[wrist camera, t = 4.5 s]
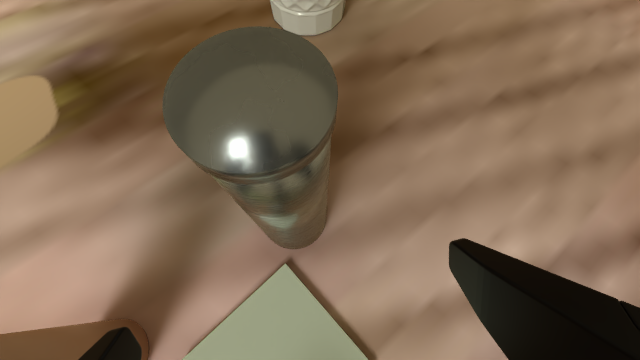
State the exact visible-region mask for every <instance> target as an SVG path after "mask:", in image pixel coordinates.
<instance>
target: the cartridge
mask: <svg viewBox="0 0 640 360" xmlns="http://www.w3.org/2000/svg"><path fill="white" fill-rule="evenodd" d="M337 99H338V88H337V82H336V77H335V74H334V72H333V69H332V67H331V65H330V63H329V62H328V60H327V59H326V57H325V56H324V55H323V54H322V52H321V51H320V50H319V49H317V48H316V47H315V46H314V45H313V44H311V43H310V42H309V41H307V40H306V39H304V38H302V37H300V36H298V35H296V34H294V33H291V32H288V31H285V30H282V29H277V28H271V27H244V28H238V29H233V30H229V31H226V32H223V33H220V34H217V35H215V36H213V37H211V38H209V39H207V40H205V41H203V42H202V43H200V44H199V45H197V46H196V47H194V48H193V49H192V50H191V51H190V52H188V53H187V54H186V55H185V56H184V57H183V58H182V60H181V61H180V62H179V63H178V64H177V66H176V67H175V69H174V70H173V72H172V73H171V75H170V77H169V79H168V82H167V85H166V87H165V91H164V96H163V115H164V121H165V124H166V127H167V129H168V131H169V133H170V135H171V137H172V139H173V140H174V142H175V143H176V144H177V146H178V147H179V148H180V149H181V150H182V151H183V152H184V153H185V154H186V155H187V156H188V157H189V158H190V159H191V160H192V161H193V162H194V163H195V164H196V165H197V166H198V167H199V168H201V169H202V170H204V171H205V172H206V173H208V174H210V175H211V176H212V177H213V178H214V179H215V180H216V181H217V182H218V183H219V184H220V186H221V187H222V188H223V189H224V190H225V191H226V192H227V193H228V194H229V195H230V196H231V197H232V198H233V199H234V201H235V202H236V203H237V204H238V205H239V206H240V207H241V208H242V209H243V210H244V211H245V212H246V213H247V214H248V215H249V217H250V218H251V219H252V220H253V221H254V222H255V223H256V224H257V225H258V226H259V227H260V228H261V229H262V230H263V232H264V233H265V234H266V235H267V236H268V237H269V238H270V239H271V240H272V241H273V242H274V243H276V244H277V245H279V246H281V247H283V248H287V249H300V248H304V247H306V246H309V245H310V244H312V243H313V242H314V241H316V240H317V239H318V238H319V236H320V235H321V233H322V231H323V229H324V227H325V223H326V210H327V195H328V180H329V164H330V149H331V134H332V132H333V129H334V125H335V121H336V111H337Z"/></svg>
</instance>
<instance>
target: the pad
mask: <svg viewBox="0 0 640 360" xmlns="http://www.w3.org/2000/svg"><path fill="white" fill-rule="evenodd" d="M182 360H368V358H367V357H366V356H365V355H364V354H363V353H362V351H361V350H360V349H359V348H358V347H357V346H356V345H355V343H354V342H353V341H352V340H351V339H350V338H349V336H348V335H347V334H346V333H345V332H344V331H343V329H342V328H341V327H340V326H339V325H338V324H337V323H336V321H335V320H334V319H333V318H332V317H331V316H330V314H329V313H328V312H327V311H326V310H325V309H324V307H323V306H322V305H321V304H320V303H319V302H318V300H317V299H316V298H315V297H314V296H313V295H312V294H311V292H310V291H309V290H308V289H307V288H306V287H305V285H304V284H303V283H302V282H301V281H300V280H299V278H298V277H297V276H296V275H295V274H294V273H293V272H292V270H291V269H290V268H289V267H288V266H287V265H286V264H284V265H283V266H282V267H281V268H280V269H279V270H278V271H277V272H276V273H275V274H274V275H272V276H271V277H270V278H269V279H268V280H267V281H266V282H265V283H264V284H263V285H262V286H261V287H260V288H258V289H257V290H256V291H255V292H254V293H253V294H252V295H251V296H250V297H249V298H248V299H247V300H246V301H244V302H243V303H242V304H241V305H240V306H239V307H238V308H237V309H236V310H235V311H234V312H233V313H232V314H230V315H229V316H228V317H227V318H226V319H225V320H224V321H223V322H222V323H221V324H220V325H219V326H218V327H216V328H215V329H214V330H213V331H212V332H211V333H210V334H209V335H208V336H207V337H206V338H205V339H204V340H202V341H201V342H200V343H199V344H198V345H197V346H196V347H195V348H194V349H193V350H192V351H191V352H190V353H189V354H187V355H186V356H185V357H184V358H183V359H182Z"/></svg>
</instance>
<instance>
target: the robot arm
mask: <svg viewBox="0 0 640 360" xmlns="http://www.w3.org/2000/svg"><path fill="white" fill-rule="evenodd" d="M449 267H450V270H451V272H452V274H453V275H454V277H455V279H456V280H457V282H458V284H459V286H460V287H461V289H462V291H463V292H464V294H465V296H466V297H467V299H468V301H469V303H470V304H471V306H472V308H473V309H474V311H475V313H476V314H477V316H478V318H479V319H480V321H481V322H482V324H483V325H484V326H485V328H486V329H487V331H488V332H489V333H490V335H491V336H492V337H493V339H494V340H495V342H496V343H497V344H498V346H499V347H500V348H501V350H502V351H503V353H504V354H505V355H506V357H507V358H508V359H509V360H640V308H639V307H636V306H634V305H631V304H629V303H626V302H624V301H618V299H616V298H613V297H611V296H608V295H606V294H603V293H601V292H598V291H596V290H593V289H591V288H588V287H586V286H583V285H581V284H578V283H576V282H573V281H571V280H568V279H566V278H563V277H561V276H558V275H556V274H553V273H551V272H548V271H546V270H543V269H541V268H538V267H536V266H533V265H531V264H528V263H526V262H523V261H521V260H518V259H516V258H513V257H511V256H508V255H506V254H503V253H501V252H498V251H496V250H493V249H491V248H488V247H486V246H483V245H481V244H478V243H476V242H473V241H470V240H468V239H465V238H462V239H458V240H454V241H451V242H450V244H449ZM141 357H142V349H141V346H140V344H139V342H138V341H137V339H136V338H135V336H134V335H133V333H132V332H131V330H130V329H129V328H128V327H120V328H116V329H112V330H110V331H108V332H107V333H106V334H105V335H103V336H102V337H101V338H100V339H99V340H98V341H97V342H96V343H95V344H94V345H93V346H92V347H91V348H90V349H89V350H88V351H86V352H85V353H84V354H83V355H82V356H81V357H80V358H79V359H78V360H141Z"/></svg>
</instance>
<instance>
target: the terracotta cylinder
mask: <svg viewBox="0 0 640 360" xmlns="http://www.w3.org/2000/svg"><path fill="white" fill-rule="evenodd" d="M120 327H128V328H129V329H130V330H131V332H132V333H133V335H134V336H135V338H136V339H137V341H138V342H139V344H140V346H141V349H142V357H141V360H147V358H148V353H149V343H148V338H147V335H146V333H145V331H144V330H143V328H142V327H141V326H140V325H139V324H138V323H136V322H134V321H132V320H129V319H115V320H108V321H100V322H92V323H84V324H77V325H69V326H61V327H53V328H46V329H38V330H30V331H22V332H15V333H7V334H0V360H78V359H79V358H80V357H81V356H82V355H83V354H84V353H85V352H86V351H88V350H89V349H90V348H91V347H92V346H93V345H94V344H95V343H96V342H97V341H98V340H99V339H100V338H101V337H102V336H103V335H105V334H106V333H107V332H108V331H110V330H112V329H116V328H120Z"/></svg>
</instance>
